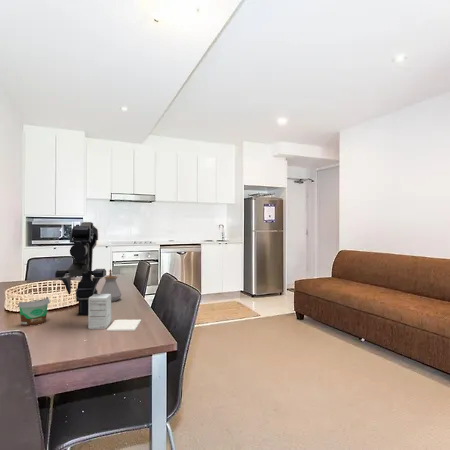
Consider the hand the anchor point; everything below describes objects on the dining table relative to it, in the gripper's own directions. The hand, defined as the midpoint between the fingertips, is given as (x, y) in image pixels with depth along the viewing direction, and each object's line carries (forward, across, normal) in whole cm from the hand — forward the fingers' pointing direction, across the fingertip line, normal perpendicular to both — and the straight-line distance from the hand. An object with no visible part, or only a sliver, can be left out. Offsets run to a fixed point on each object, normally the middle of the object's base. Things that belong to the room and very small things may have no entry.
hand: (81, 294), depth 133 cm
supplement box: (+13, +8, -1) cm, 16 cm away
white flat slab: (+13, +18, -2) cm, 22 cm away
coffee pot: (+13, +1, +48) cm, 50 cm away
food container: (+13, -19, +4) cm, 24 cm away
